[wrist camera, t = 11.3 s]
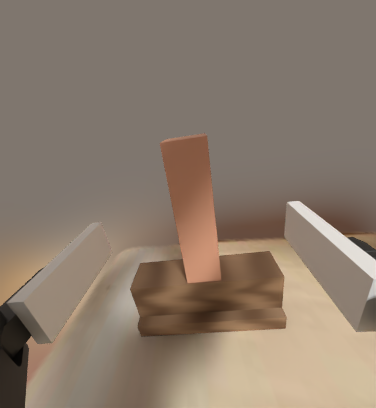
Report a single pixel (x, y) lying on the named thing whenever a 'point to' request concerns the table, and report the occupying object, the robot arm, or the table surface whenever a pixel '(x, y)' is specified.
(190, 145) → the rod
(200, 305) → the brown wooden block
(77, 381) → the table surface
